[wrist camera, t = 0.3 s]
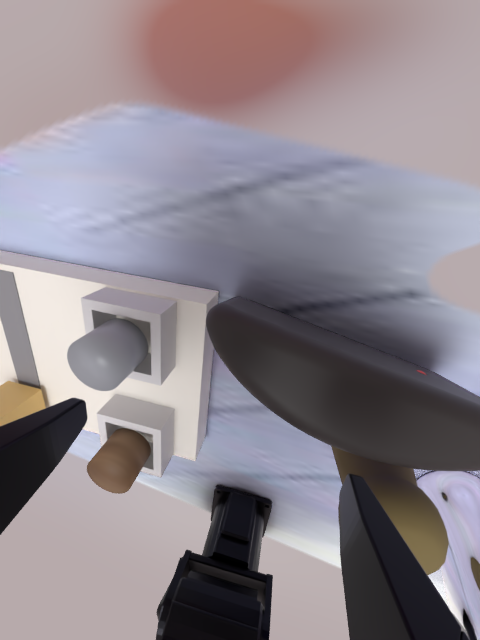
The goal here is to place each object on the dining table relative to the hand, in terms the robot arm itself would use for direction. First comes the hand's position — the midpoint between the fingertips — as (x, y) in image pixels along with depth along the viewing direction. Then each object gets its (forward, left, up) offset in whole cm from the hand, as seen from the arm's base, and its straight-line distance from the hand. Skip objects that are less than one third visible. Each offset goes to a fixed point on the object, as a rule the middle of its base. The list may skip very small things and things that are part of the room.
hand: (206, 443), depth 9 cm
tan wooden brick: (-13, +21, -10) cm, 26 cm away
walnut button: (-13, +9, -8) cm, 17 cm away
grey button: (-3, +9, -8) cm, 12 cm away
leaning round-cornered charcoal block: (-2, -5, -14) cm, 15 cm away
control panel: (-8, +15, -14) cm, 21 cm away
